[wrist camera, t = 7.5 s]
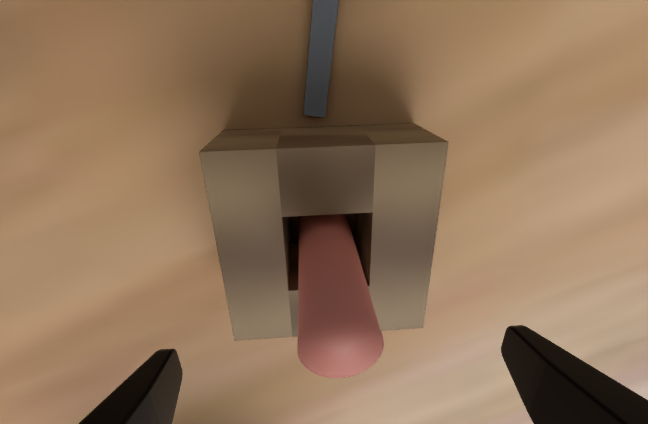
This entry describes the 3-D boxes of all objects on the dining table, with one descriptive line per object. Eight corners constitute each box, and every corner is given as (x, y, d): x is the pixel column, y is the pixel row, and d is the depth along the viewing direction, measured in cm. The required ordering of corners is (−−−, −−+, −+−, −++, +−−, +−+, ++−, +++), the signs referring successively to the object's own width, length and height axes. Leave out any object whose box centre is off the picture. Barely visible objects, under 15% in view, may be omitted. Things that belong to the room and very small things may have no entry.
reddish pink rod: (344, 231, 18) (381, 374, 10) (300, 233, 18) (300, 380, 9) (344, 190, 17) (386, 311, 9) (297, 192, 17) (294, 317, 8)
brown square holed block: (400, 278, 19) (423, 327, 16) (247, 287, 19) (234, 340, 15) (414, 123, 16) (448, 141, 12) (223, 130, 15) (199, 151, 11)
